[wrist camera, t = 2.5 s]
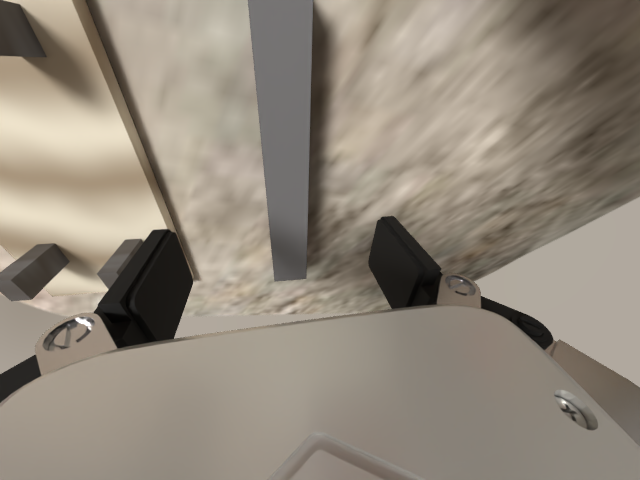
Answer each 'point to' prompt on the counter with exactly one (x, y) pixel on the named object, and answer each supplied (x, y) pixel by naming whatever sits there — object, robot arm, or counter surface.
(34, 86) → the clip board
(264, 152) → the bar
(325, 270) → the counter surface
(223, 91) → the counter surface
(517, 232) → the counter surface
